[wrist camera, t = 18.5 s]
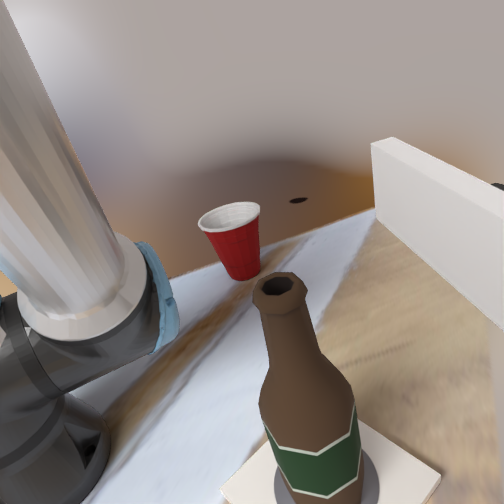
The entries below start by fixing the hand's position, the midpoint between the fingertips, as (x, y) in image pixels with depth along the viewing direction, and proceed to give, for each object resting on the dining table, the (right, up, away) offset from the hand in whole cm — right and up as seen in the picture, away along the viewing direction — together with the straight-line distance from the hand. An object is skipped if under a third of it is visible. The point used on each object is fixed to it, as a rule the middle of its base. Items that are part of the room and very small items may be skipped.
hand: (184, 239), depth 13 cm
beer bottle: (+9, -23, +27) cm, 36 cm away
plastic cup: (+1, -4, +63) cm, 63 cm away
